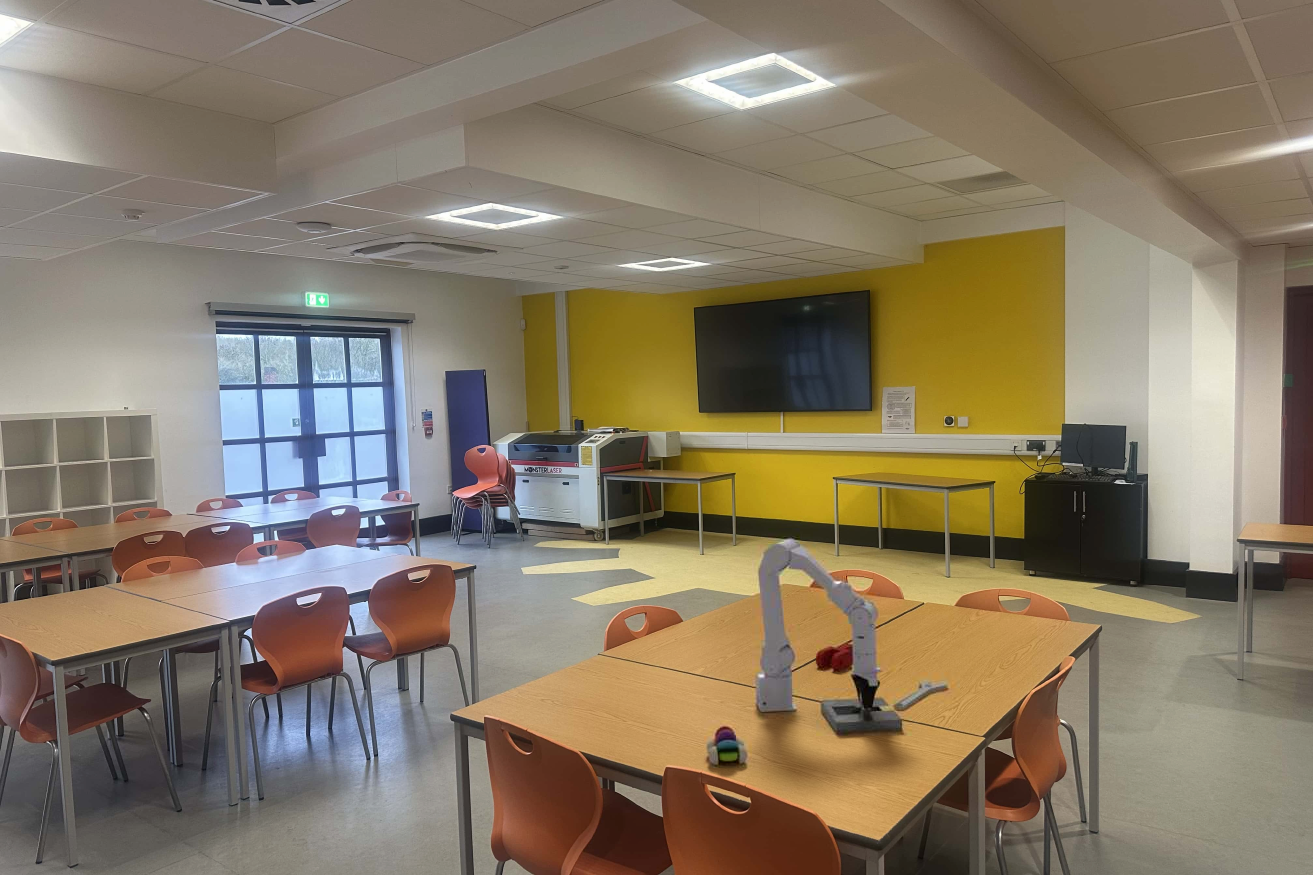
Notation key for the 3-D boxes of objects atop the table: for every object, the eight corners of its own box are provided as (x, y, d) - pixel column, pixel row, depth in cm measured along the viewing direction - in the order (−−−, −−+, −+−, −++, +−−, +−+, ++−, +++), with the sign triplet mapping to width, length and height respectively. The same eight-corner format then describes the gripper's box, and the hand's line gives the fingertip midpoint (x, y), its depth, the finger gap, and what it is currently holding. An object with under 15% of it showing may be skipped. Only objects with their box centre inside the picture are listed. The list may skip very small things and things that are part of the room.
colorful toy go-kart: (742, 750, 199) (741, 719, 199) (748, 767, 190) (747, 735, 189) (706, 752, 199) (705, 721, 199) (710, 769, 189) (709, 737, 189)
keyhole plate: (836, 734, 207) (836, 722, 207) (820, 710, 223) (820, 700, 223) (902, 730, 207) (902, 719, 207) (881, 707, 223) (881, 697, 223)
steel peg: (860, 722, 213) (859, 690, 212) (854, 716, 217) (853, 685, 217) (877, 721, 213) (876, 689, 213) (871, 715, 217) (870, 684, 217)
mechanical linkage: (836, 673, 254) (836, 656, 254) (816, 668, 259) (815, 652, 259) (864, 660, 266) (864, 644, 266) (844, 656, 271) (844, 640, 271)
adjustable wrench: (901, 713, 221) (901, 706, 221) (879, 707, 225) (879, 700, 225) (950, 688, 238) (949, 681, 238) (928, 683, 243) (928, 677, 242)
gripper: (889, 659, 207) (891, 714, 208) (871, 642, 222) (873, 695, 222) (860, 660, 207) (862, 716, 208) (844, 644, 222) (846, 696, 222)
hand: (865, 705), depth 215 cm, fingers closed on steel peg, 3 cm apart
